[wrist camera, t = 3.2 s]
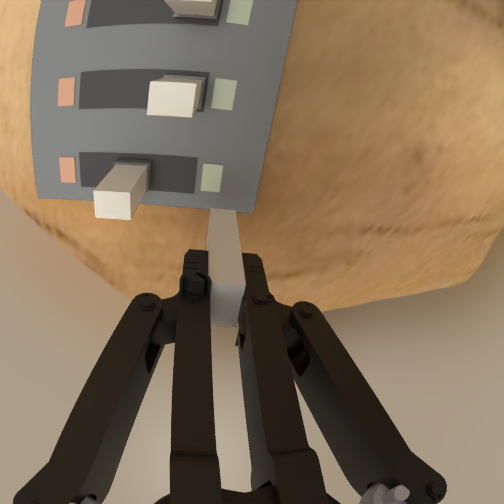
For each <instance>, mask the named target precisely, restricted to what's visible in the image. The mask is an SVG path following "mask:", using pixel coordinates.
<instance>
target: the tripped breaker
mask: <svg viewBox="0 0 504 504" xmlns="http://www.w3.org/2000/svg"><path fill="white" fill-rule="evenodd" d="M151 169H152V160H141V159H116V160H115V161H114V167H113V169H112V170H111V171H110V172H109V173H108V174H107V175H106V176H105V178H104V179H103V180H102V181H101V182H100V183H99V185H98V186H97V187H96V188H95V189H94V190H93V193H94V205H95V216H96V218H109V219H123V220H131V219H132V217H133V215H134V213H135V211H136V209H137V207H138V205H139V203H140V201H141V199H142V197H143V195H144V193H145V191H147V192H149V190H150V188H151Z"/></svg>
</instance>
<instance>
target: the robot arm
mask: <svg viewBox="0 0 504 504" xmlns="http://www.w3.org/2000/svg"><path fill="white" fill-rule="evenodd" d="M237 324H239V331H238V335H237V339H236V344H235V346H238V347H239V358H240V368H241V378H242V387H243V397H244V406H245V414H246V424H247V432H248V441H249V450H250V458H251V467H252V471H251V488H252V491H251V492H247V493H243V492H237V491H231V490H226V489H221V481H220V480H221V479H220V468H219V460H218V456H217V451H216V439H215V423H214V404H213V383H212V355H211V326H220V327H237ZM170 343H175V353H174V368H173V386H172V413H171V414H172V415H171V453H170V494H168V495H166V496H164V497H162V498H161V499H159V500H158V501H157V502H155V503H154V504H340V503H339V502H338V501H337V500H335V499H334V498H332V497H331V496H330V495H329V494H327V493H326V490H325V485H324V481H323V476H322V472H321V467H320V463H319V459H318V456H317V454H316V452H315V451H314V450H313V449H311V448H310V447H309V445H308V442H307V438H306V433H305V428H304V424H303V420H302V415H301V410H300V406H299V402H298V397H297V392H296V388H295V383H294V380H295V382H296V384H297V386H298V388H299V390H300V392H301V394H302V396H303V398H304V400H305V402H306V404H307V405H308V407H309V409H310V411H311V413H312V415H313V417H314V419H315V421H316V423H317V425H318V426H319V428H320V430H321V432H322V434H323V436H324V438H325V440H326V441H327V443H328V445H329V447H330V449H331V451H332V452H333V454H334V456H335V458H336V460H337V462H338V464H339V466H340V468H341V469H342V471H343V473H344V475H345V477H346V478H347V480H348V481H349V483H350V484H351V486H352V487H353V488H354V489H355V490H356V492H357V493H358V494H359V495H360V496H361V497H362V498H361V501H360V503H359V504H437V503H438V502H440V501H441V500H442V499H443V498H444V496H445V494H446V491H447V484H446V481H445V479H444V478H443V477H442V476H441V475H440V474H439V473H438V472H436V471H435V470H434V469H432V468H431V467H430V466H429V465H427V464H426V463H425V462H424V461H422V460H421V459H420V458H419V457H417V456H416V455H415V454H414V453H412V452H411V451H410V449H409V447H408V446H407V444H406V442H405V441H404V439H403V438H402V436H401V434H400V433H399V431H398V430H397V428H396V427H395V425H394V423H393V422H392V420H391V419H390V417H389V415H388V414H387V412H386V411H385V409H384V407H383V406H382V404H381V403H380V401H379V400H378V398H377V397H376V395H375V393H374V392H373V390H372V389H371V387H370V386H369V384H368V383H367V381H366V379H365V378H364V377H363V375H362V373H361V372H360V370H359V369H358V367H357V366H356V364H355V363H354V361H353V360H352V358H351V357H350V355H349V353H348V352H347V350H346V349H345V348H344V346H343V344H342V343H341V341H340V340H339V338H338V337H337V335H336V334H335V332H334V331H333V329H332V328H331V326H330V325H329V323H328V322H327V320H326V319H325V317H324V316H323V314H322V313H321V311H320V310H319V309H318V308H317V307H316V306H315V305H314V304H312V303H309V302H306V301H300V302H297V303H295V304H294V305H293V307H291V306H287V305H284V304H281V303H279V302H277V301H275V298H274V296H273V295H272V294H271V293H270V292H269V289H268V285H267V280H266V276H265V272H264V268H263V263H262V260H261V258H260V257H259V256H258V255H257V254H251V253H241V246H240V238H239V231H238V224H237V216H236V210H226V209H216V208H211V209H210V217H209V226H208V235H207V244H206V251H205V250H193V249H189V250H188V252H187V253H186V254H185V257H184V265H183V274H182V276H181V278H180V290H179V292H178V293H177V294H176V295H175V296H173V297H171V298H167V299H161V298H159V297H158V296H157V295H155V294H153V293H142V294H139V295H137V296H136V297H135V298H134V299H133V300H132V302H131V303H130V305H129V306H128V308H127V310H126V312H125V313H124V315H123V317H122V318H121V320H120V322H119V324H118V325H117V327H116V329H115V330H114V332H113V335H112V336H111V337H110V339H109V341H108V343H107V345H106V346H105V348H104V350H103V352H102V353H101V355H100V357H99V359H98V361H97V363H96V365H95V366H94V368H93V370H92V372H91V374H90V376H89V378H88V380H87V382H86V384H85V386H84V387H83V389H82V392H81V393H80V395H79V397H78V399H77V401H76V403H75V406H74V408H73V410H72V412H71V414H70V416H69V418H68V420H67V422H66V424H65V427H64V429H63V431H62V433H61V435H60V437H59V440H58V442H57V444H56V446H55V449H54V451H53V453H52V456H51V458H50V461H49V462H48V463H47V464H46V465H45V466H44V467H43V468H42V469H41V470H40V471H39V472H38V473H37V474H36V475H35V476H34V477H33V478H32V479H31V480H30V481H29V482H28V483H27V484H26V485H25V486H24V487H23V488H22V489H21V490H19V491H18V492H17V494H16V495H15V497H14V499H13V504H102V502H103V501H104V499H105V498H106V496H107V494H108V492H109V490H110V487H111V485H112V482H113V480H114V477H115V474H116V471H117V468H118V465H119V462H120V459H121V456H122V454H123V451H124V448H125V446H126V443H127V440H128V437H129V435H130V432H131V429H132V427H133V424H134V421H135V419H136V416H137V413H138V411H139V408H140V405H141V402H142V400H143V398H144V395H145V392H146V390H147V387H148V385H149V383H150V380H151V378H152V375H153V372H154V370H155V368H156V365H157V363H158V360H159V358H160V355H161V353H162V350H163V348H164V345H165V344H170ZM293 378H294V379H293Z"/></svg>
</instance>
